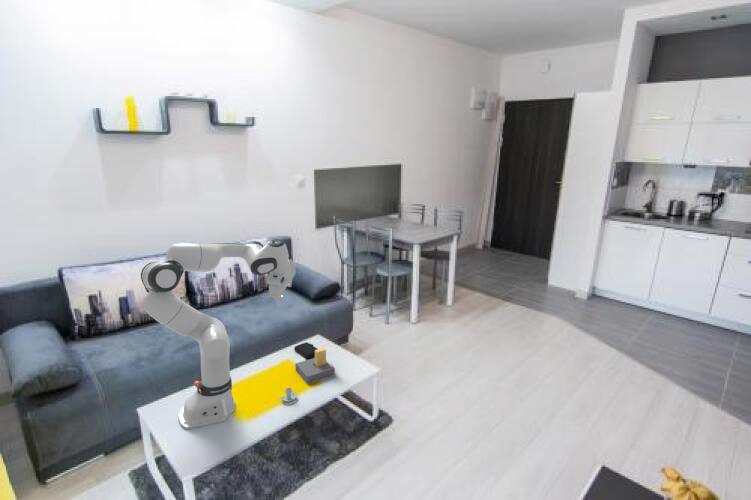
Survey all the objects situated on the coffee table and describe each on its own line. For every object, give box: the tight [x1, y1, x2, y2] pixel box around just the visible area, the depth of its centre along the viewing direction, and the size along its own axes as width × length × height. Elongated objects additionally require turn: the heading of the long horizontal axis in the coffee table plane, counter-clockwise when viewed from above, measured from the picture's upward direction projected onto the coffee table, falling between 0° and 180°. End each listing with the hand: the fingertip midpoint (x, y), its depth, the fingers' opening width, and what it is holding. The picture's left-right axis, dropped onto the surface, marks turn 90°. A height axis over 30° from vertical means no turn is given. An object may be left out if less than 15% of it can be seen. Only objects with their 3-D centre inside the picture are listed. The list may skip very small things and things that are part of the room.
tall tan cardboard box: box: [314, 347, 327, 368], centre depth 203 cm, size 5×2×12 cm, turn 124°
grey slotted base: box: [295, 357, 336, 385], centre depth 202 cm, size 15×14×5 cm
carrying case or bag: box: [293, 342, 318, 360], centre depth 223 cm, size 11×3×15 cm
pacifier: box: [280, 386, 299, 406], centre depth 179 cm, size 7×6×6 cm
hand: (285, 292), depth 193 cm, fingers open, 8 cm apart
